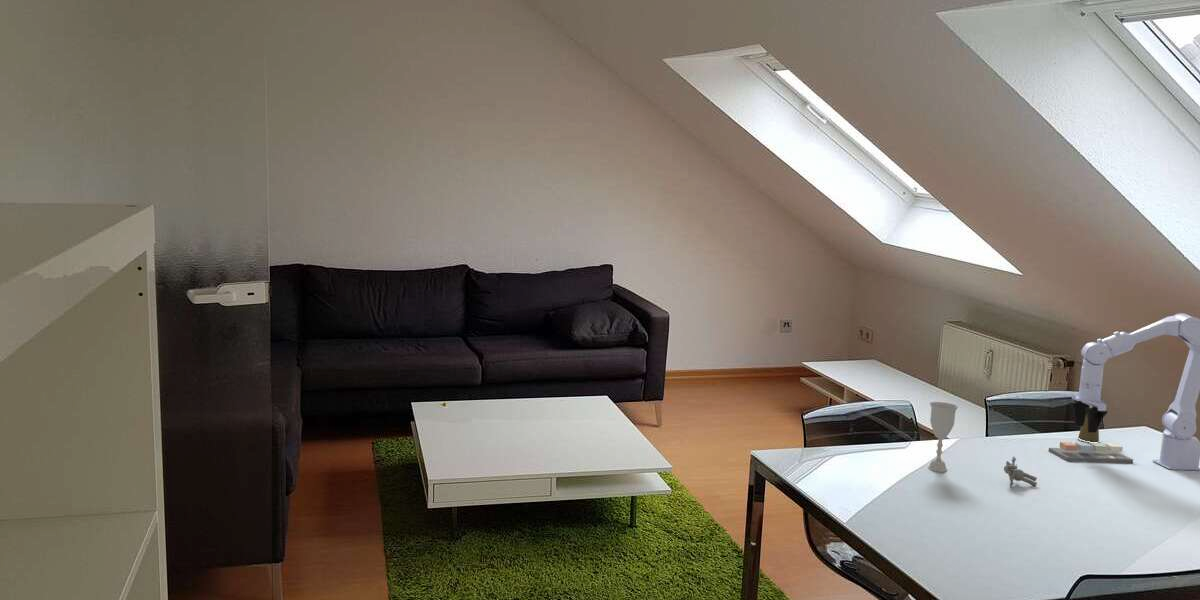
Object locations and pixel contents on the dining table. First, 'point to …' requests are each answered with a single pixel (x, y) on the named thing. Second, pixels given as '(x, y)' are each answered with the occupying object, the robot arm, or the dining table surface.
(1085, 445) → the key blue
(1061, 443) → the key terracotta
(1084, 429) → the cork
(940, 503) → the dining table surface
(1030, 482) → the toy figurine
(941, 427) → the chalice
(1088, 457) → the keypad base
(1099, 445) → the key sage
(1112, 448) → the key cream
